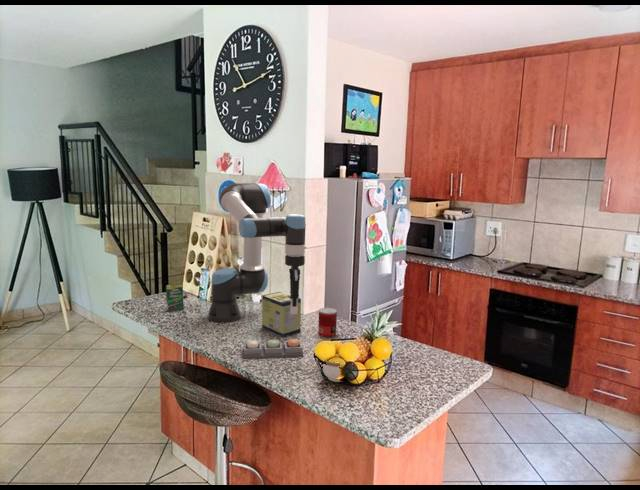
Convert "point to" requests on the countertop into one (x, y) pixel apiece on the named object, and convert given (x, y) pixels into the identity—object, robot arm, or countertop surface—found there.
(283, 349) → the button panel
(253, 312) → the countertop surface
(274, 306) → the protein box
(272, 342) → the button sage
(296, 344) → the button terracotta
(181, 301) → the coffee box
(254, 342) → the button cream
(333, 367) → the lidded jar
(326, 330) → the canned food
